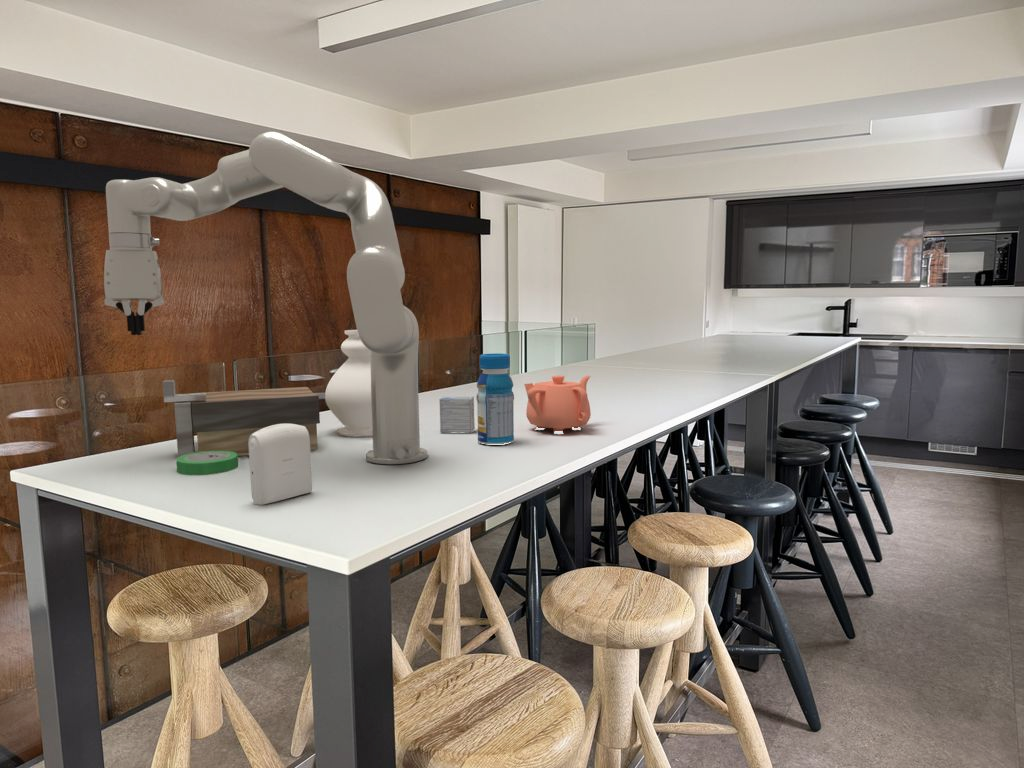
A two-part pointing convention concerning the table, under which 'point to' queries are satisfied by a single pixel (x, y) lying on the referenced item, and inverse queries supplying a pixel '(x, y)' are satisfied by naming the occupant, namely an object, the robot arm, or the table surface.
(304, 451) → the photo printer
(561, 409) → the teapot
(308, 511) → the table surface
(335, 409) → the decorative vase
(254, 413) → the lid
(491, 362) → the beverage bottle
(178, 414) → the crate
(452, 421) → the medicine box
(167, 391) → the brushed metal corner piece
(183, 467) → the tape roll
